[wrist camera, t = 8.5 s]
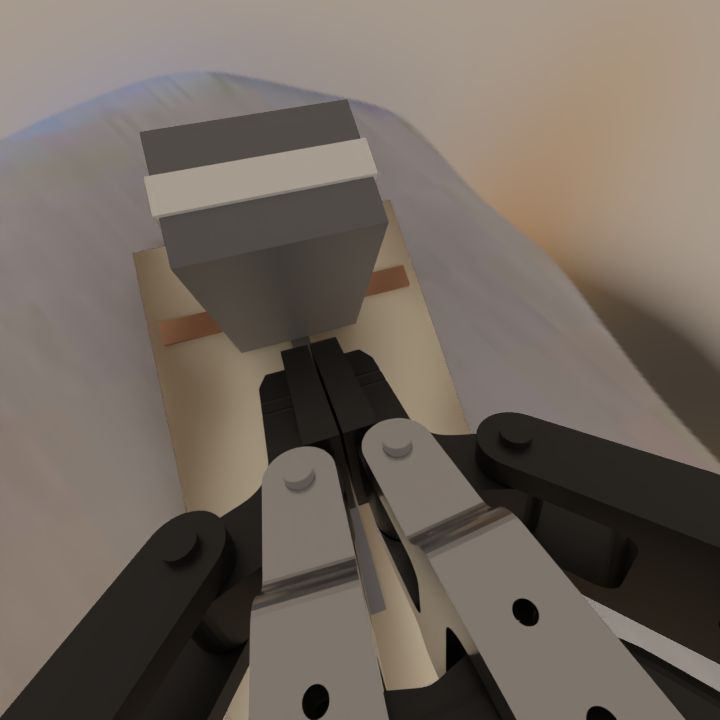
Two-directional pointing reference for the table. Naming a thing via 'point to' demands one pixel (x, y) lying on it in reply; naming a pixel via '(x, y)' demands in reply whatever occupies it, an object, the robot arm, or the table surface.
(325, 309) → the fader knob
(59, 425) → the table surface
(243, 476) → the fader panel
